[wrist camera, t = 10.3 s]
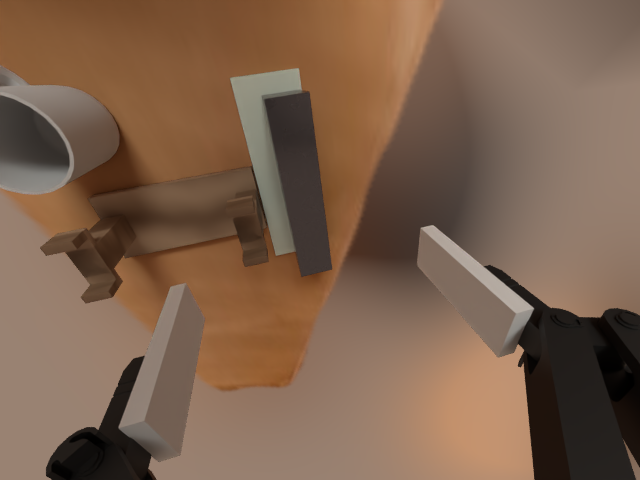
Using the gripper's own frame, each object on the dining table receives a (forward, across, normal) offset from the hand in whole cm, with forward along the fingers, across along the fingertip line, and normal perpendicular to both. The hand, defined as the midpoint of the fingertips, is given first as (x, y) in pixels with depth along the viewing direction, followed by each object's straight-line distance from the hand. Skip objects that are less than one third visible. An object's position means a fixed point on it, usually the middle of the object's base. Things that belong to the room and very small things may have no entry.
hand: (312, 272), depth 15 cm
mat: (+21, 0, -1) cm, 21 cm away
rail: (+20, +2, -2) cm, 21 cm away
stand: (+21, -12, -3) cm, 24 cm away
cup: (+21, -19, +9) cm, 30 cm away
